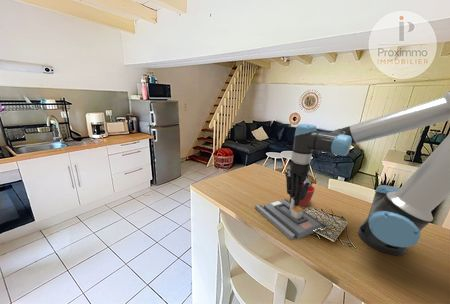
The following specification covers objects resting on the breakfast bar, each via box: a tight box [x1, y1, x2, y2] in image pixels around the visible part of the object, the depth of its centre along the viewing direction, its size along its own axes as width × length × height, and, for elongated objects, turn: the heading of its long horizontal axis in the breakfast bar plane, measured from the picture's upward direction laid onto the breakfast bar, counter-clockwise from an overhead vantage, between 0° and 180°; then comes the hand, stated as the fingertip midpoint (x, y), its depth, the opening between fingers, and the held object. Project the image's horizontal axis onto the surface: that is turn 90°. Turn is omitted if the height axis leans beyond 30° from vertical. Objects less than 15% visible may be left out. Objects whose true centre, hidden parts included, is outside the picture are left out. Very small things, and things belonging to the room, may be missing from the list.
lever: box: [291, 205, 304, 220], centre depth 82 cm, size 3×3×5 cm
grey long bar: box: [254, 204, 297, 240], centre depth 84 cm, size 24×3×2 cm, turn 28°
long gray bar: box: [284, 198, 327, 229], centre depth 90 cm, size 24×3×2 cm, turn 27°
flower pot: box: [298, 184, 315, 207], centre depth 99 cm, size 11×11×10 cm
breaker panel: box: [263, 198, 321, 240], centre depth 86 cm, size 22×13×4 cm, turn 28°
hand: (292, 210), depth 84 cm, fingers closed
